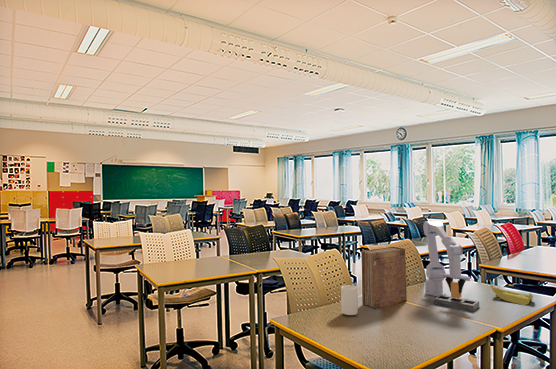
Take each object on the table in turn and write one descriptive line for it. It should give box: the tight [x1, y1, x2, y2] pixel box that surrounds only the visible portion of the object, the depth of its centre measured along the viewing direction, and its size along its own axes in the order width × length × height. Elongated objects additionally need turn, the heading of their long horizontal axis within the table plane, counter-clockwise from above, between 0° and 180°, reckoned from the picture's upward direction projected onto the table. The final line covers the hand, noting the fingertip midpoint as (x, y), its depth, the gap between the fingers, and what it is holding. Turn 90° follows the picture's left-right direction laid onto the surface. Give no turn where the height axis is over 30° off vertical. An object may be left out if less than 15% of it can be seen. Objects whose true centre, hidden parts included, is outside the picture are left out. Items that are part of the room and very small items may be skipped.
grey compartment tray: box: [433, 294, 480, 313], centre depth 198 cm, size 20×10×3 cm, turn 45°
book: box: [360, 246, 408, 310], centre depth 205 cm, size 25×9×30 cm, turn 121°
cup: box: [340, 284, 359, 316], centre depth 187 cm, size 8×8×14 cm
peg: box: [450, 280, 462, 298], centre depth 198 cm, size 4×4×8 cm
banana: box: [490, 284, 534, 306], centre depth 206 cm, size 20×7×10 cm
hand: (455, 292), depth 198 cm, fingers closed on peg, 4 cm apart
